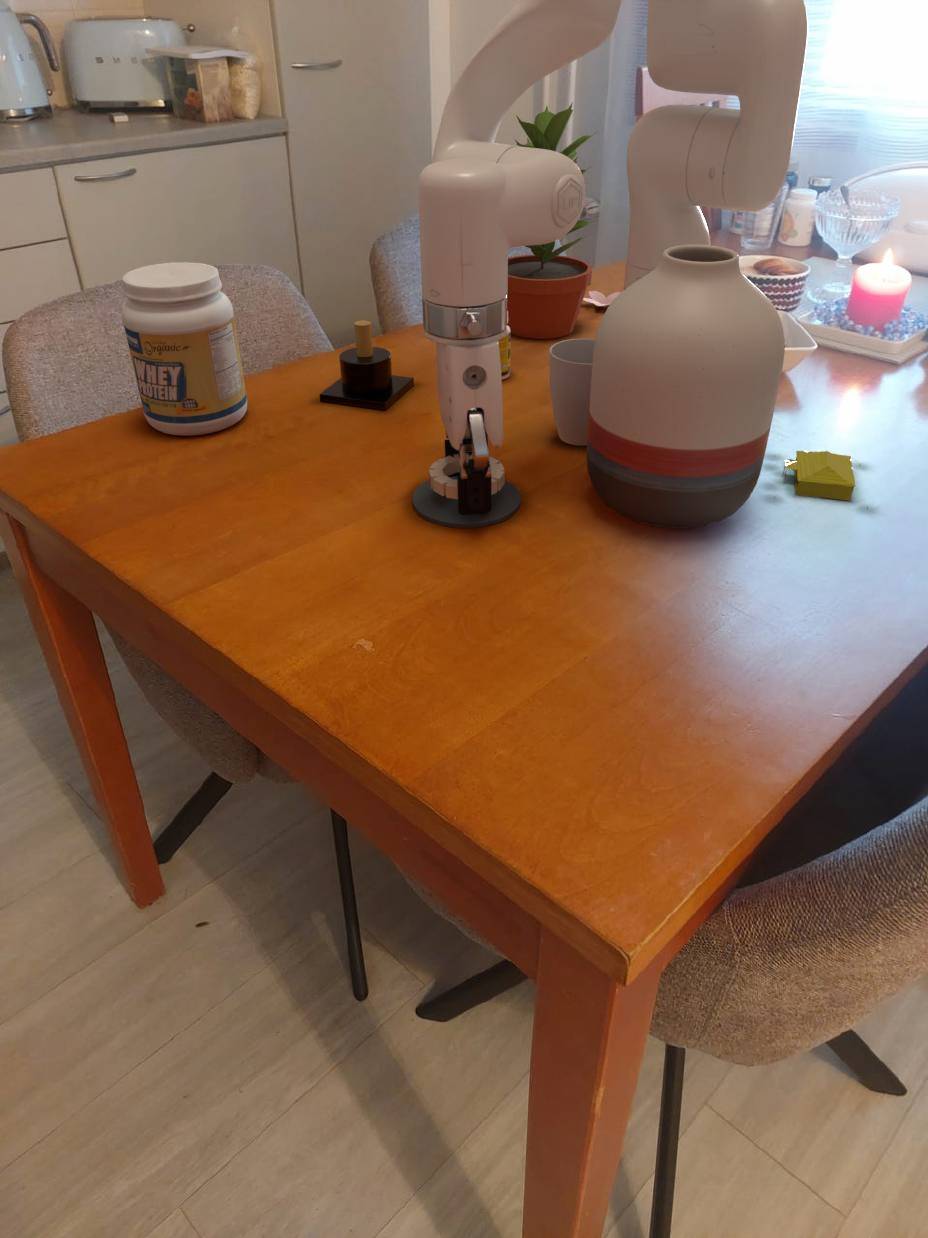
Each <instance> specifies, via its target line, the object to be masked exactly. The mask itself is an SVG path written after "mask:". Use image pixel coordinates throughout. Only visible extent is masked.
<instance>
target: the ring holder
mask: <svg viewBox="0 0 928 1238" xmlns="http://www.w3.org/2000/svg"><path fill="white" fill-rule="evenodd" d="M353 324H354V337H355V347H352V348H348V349H346V350H343V351H342V352H341V353H340V354H339V356H338V359H339V369H340V378H339V379H338V380H336V381H335V382H334V383H332V384H331V385H329V386H328V387H327V388H326V389H324V390H323V391H322V392H320V393H319V401H320V402H321V403H329V404H334V405H335V404H336V405H341V406H348V407H349V406H350V407H357V408H364V409H371V410H378V411H386V410H388V409H389V408H390V407H391V406H392V405H393V404H395V403H396V402H397V401H398V400H399V399H400V398H401V397H402V396H404V395H405V394H406V393H407V392H408V391H409V390H410V389H412V388H413V387H414V385H415V380H414V379H415V378H414V377H410V376H401V375H393V371H392V370H393V369H392V355H391V352H390V351H389V350H388V349H386V348H382V347H378V346H373V334H372V323H371V321H370V320H365V319H361V320H357V321H355V322H354V323H353Z"/></svg>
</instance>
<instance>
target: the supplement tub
mask: <svg viewBox="0 0 928 1238" xmlns="http://www.w3.org/2000/svg"><path fill="white" fill-rule="evenodd" d="M122 283H123V295H124V296H125V297H126V298H127V301H126V302H125V303H124V305H123V307H122V311H121V317H122V318H121V319H122V323H123V328H124V331H125V336H126V341H127V346H128V350H129V354H130V359H131V362H132V367H133V372H134V375H135V381H136V384H137V388H138V394H139V397H140V402H141V407H142V411H143V412H142V413H143V415H144V417H145V420H146V421H147V423H148V424H149V425H150V426H151V428H153V429H155V430H157V431H159V432H160V433H163V434H168V435H171V436H182V437H183V436H187V437H188V436H190V437H191V436H202V435H208V434H212V433H215V432H220V431H222V430H225V429H227V428H229V427H231V426H233V425H236V424H237V423H238V422H240V421H241V420H242V418H243V417H244V416H245V415H246V412H247V409H248V398H247V391H246V384H245V380H244V378H245V377H244V372H243V371H244V370H243V365H242V359H241V353H240V352H241V351H240V345H239V340H238V332H237V326H236V321H235V314H234V309H233V308H234V307H233V304H232V302H231V300H230V299H229V297H228V296H227V294H225V293H224V292H223V291H221V289H222V287H223V284H222V281H221V278H220V273H219V269H218V268H217V267H216V266H213V265H209V264H206V263H201V262H185V261H183V262H163V263H156V264H149V265H144V266H141V267H138V268H135V269H132V270H130V271H127V272H126V273H125V274H124V275H123V276H122Z"/></svg>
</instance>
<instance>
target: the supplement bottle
mask: <svg viewBox="0 0 928 1238" xmlns="http://www.w3.org/2000/svg"><path fill="white" fill-rule="evenodd" d="M507 324H508V311H507ZM511 334H512V333H511V331H510V327H509V326H508V325H507V333H506V335H505V336H504V337H503V338H501V339H499V340H498V344H499V352H500V362H501V377H502V381H503V380H506V379H507V378H509V377H510V375H511V337H512V336H511Z"/></svg>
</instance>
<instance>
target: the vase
mask: <svg viewBox="0 0 928 1238" xmlns="http://www.w3.org/2000/svg"><path fill="white" fill-rule="evenodd" d="M739 255H740V254H739V253H738V252H737V251H734V250H732V249H730V248H727V247H722V246H717V245H711V244H710V245H680V246H674V247H670V248H668V249H666V250H665V251H664V252H663V254H662V258H661V261H660V263H659V265H658V267H657V268H655V269H654V270H653V271H651V272H650V273H649V274H647V275H646V276H644V277H642V278H641V279H639V280H638V281H636V282H635V283H633V284H632V285H630V286H629V287H628V288H626V289H625V290H624V289H623V290H622V291H621V292H622V293H620V294H619V295H618V296H617V297H616V298H615V299H614V300H613V301H612V303H611V304H610V305H608V306H607V309H606V310H605V313H604V314H603V316H602V318H601V321H600V323H599V326H598V329H597V332H596V336H595V339H596V340H595V346H594V354H593V365H592V379H591V392H590V406H589V420H588V435H587V446H586V469H587V473H588V474H587V475H588V478H589V481H590V484H591V486H592V488H593V491H594V493H595V494H596V496H597V497H598V498H599V500H600V501H601V502H602V503H603V504H604V505H605V506H606V507H608V508H609V509H610V510H611V511H613V512H615V513H616V514H619V515H620V516H622V517H624V518H626V519H629V520H631V521H634V522H636V523H641V524H644V525H647V526H654V527H659V528H669V529H670V528H671V529H689V528H697V527H702V526H708V525H712V524H715V523H718V522H721V521H723V520H724V519H727V518H729V517H730V516H732V515H734V514H735V513H736V512H738V511H739V510H740V509H741V508H742V507H743V506H744V505H745V503H746V502H747V501H748V500H749V498H750V497H751V495H752V494H753V492H754V490H755V488H756V485H757V484H758V481H759V478H760V475H761V472H762V467H763V464H764V460H765V455H766V450H767V446H768V442H769V438H770V432H771V427H772V423H773V418H774V412H775V408H776V403H777V398H778V394H779V388H780V383H781V379H782V373H783V368H784V367H783V366H784V362H785V361H784V360H785V353H786V350H785V348H786V346H785V345H786V344H785V342H786V341H785V340H786V339H785V333H784V332H785V331H784V326H783V323H782V318H781V317H780V314H779V312H778V309H777V308H776V307H775V305H774V303H772V301H771V300H770V299H769V297H768V296H767V295H766V294H765V293H764V292H763V291H762V290H761V289H760V288H759V287H758V286H757V285H755V284H754V283H753V282H752V281H751V280H750V279H748V277H747V276H745V274H744V273H743V272H742V271H741V268H740V256H739Z"/></svg>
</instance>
